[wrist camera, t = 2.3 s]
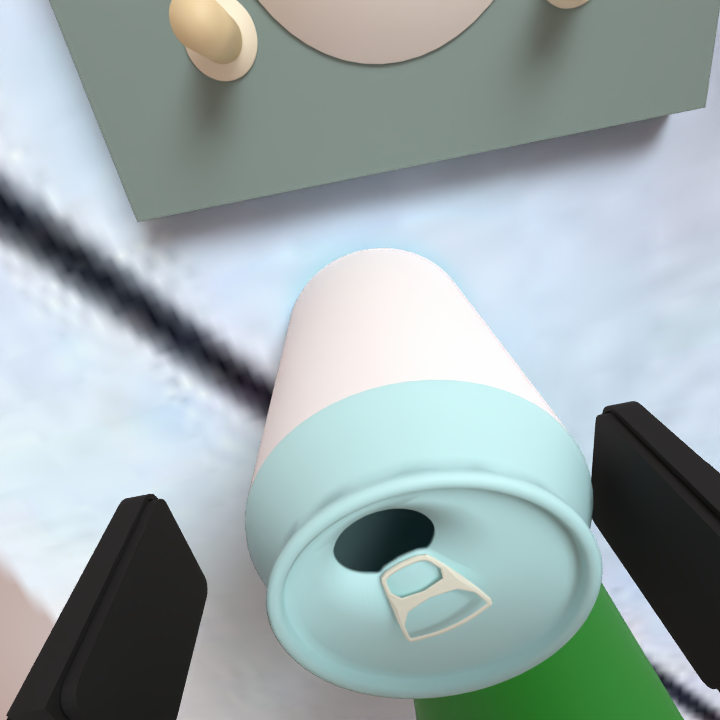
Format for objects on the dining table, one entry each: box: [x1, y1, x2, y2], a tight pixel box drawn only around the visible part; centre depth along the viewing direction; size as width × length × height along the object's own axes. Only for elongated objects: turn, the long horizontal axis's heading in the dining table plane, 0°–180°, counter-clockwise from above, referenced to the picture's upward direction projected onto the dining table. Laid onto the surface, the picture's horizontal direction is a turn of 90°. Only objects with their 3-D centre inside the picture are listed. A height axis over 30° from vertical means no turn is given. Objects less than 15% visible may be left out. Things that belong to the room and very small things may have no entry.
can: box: [245, 248, 602, 699], centre depth 13 cm, size 7×7×12 cm
